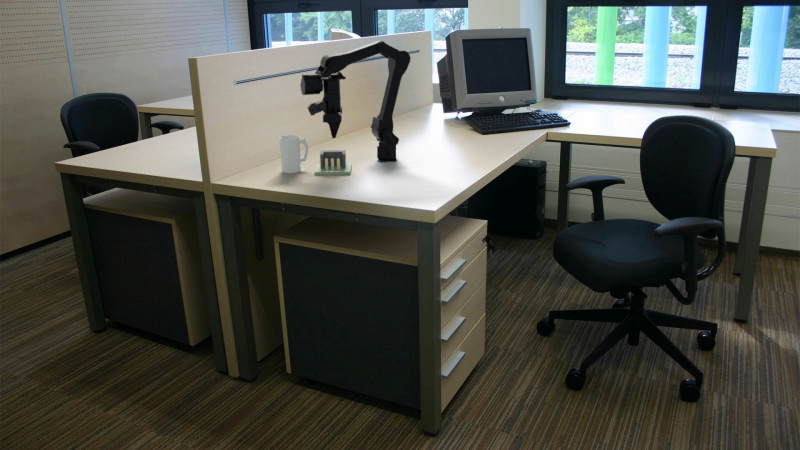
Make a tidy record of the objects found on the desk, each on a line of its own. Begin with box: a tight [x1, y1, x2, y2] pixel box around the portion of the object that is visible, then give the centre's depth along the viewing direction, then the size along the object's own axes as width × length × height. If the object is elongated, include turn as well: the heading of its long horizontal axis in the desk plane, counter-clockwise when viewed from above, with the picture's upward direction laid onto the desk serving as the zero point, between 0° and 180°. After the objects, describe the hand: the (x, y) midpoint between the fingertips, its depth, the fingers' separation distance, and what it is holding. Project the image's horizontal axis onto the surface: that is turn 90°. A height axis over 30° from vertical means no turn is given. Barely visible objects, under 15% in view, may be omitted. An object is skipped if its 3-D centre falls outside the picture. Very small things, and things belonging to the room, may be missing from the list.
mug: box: [279, 134, 309, 175], centre depth 226 cm, size 10×7×12 cm, turn 124°
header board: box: [314, 159, 352, 176], centre depth 228 cm, size 12×12×5 cm
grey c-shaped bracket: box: [319, 149, 347, 169], centre depth 229 cm, size 6×8×5 cm
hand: (333, 137), depth 232 cm, fingers closed
